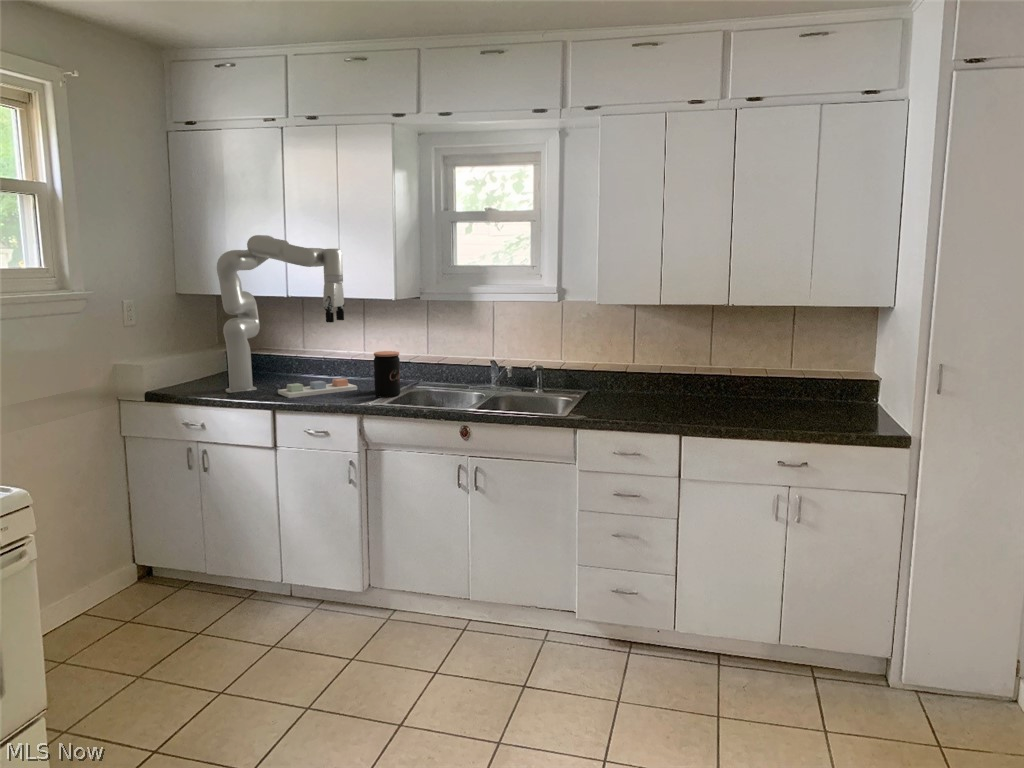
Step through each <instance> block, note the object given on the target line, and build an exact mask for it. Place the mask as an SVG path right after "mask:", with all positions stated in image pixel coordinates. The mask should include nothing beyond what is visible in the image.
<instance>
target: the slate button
mask: <svg viewBox="0 0 1024 768" xmlns="http://www.w3.org/2000/svg"><path fill="white" fill-rule="evenodd" d="M326 384H327V382H326V381H323V380H315V381H309V386H310V388H311V389H314V390H316V389H324V388H326Z"/></svg>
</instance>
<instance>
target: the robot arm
mask: <svg viewBox="0 0 1024 768" xmlns="http://www.w3.org/2000/svg"><path fill="white" fill-rule="evenodd" d="M246 248H247V249H232V250H228V251H226V252H224V253H222V254H221V255H220V256H219V258H218V260H217V261H216V273H217V277H218V281H219V286H220V287H219V290H220V296H221V301H222V307H223V310H224V312H225V313H226V314H228V315H231V316H232V315H233V316H236V315H237V317H233V318H230V319H228V320H227V321H226V322H225V323H224V325H223V336H224V340H225V346H226V347H225V348H226V356H227V371H228V372H227V374H228V385H229V386H228V388H225V393H227V394H233V393H238V392H247V391H248V392H249V391H255V390H258V389H257V386H254V385H253V368H252V352H251V345H250V343H249V340H248V339H252V338H254V337H256V336H257V335H258V334H259V332H260V327H261V326H260V317H259V312H258V304H257V300H256V299H255V296H254V295H253V294H252V293H251V292H249V291H245V290H243V288H242V282H241V279H240V277H239V275H238V271H251V270H252V271H253V270H255V269H256V268H258V267H259V266H261V265H262V264H263V263H265V262H266V261H268V260H269V259H271V260H276V261H280V262H283V263H287V264H292V265H295V266H299V267H306V268H311V267H312V268H313V267H314V268H316V267H323V283H324V284H323V298H322V299H323V308H324V313H325V322H326V323H334V322H335V320H334V319H335V316H334V315H335V314H334V308H336V311H335V312H336V320H337V321H344V320H345V301H346V300H345V295H344V287H343V283H344V274H343V273H344V271H343V270H344V269H343V267H344V266H343V253H342V252H343V251H342V249H340V248H321V247H305V246H304V247H303V246H299V245H294V244H291V243H289V242H288V241H287V240H284V239H279V238H274V237H273V236H272V235H267V234H266V235H264V234H257V235H256V234H255V235H252V236H250V237H249V239H248V240H247V243H246Z"/></svg>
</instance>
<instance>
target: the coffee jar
mask: <svg viewBox="0 0 1024 768" xmlns="http://www.w3.org/2000/svg"><path fill="white" fill-rule="evenodd" d="M399 355H400V352H399V351H396V350H394V351H392V350H382V351H381V350H380V351H375V352H373V356H374V358H373V377H374V379H373V380H374V381H373V382H374V393H375V396H376V397H378V396H381V397H380V398H394V397H398V396H400V394H401V368H400V367H401V365H400V363H401V362H400V357H399Z"/></svg>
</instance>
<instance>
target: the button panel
mask: <svg viewBox="0 0 1024 768" xmlns="http://www.w3.org/2000/svg"><path fill="white" fill-rule="evenodd" d="M357 390H358V385H356V384H351V383H349V382H348V386H342V387H335V386H332V383H326V388H324V389H316V390H314V389H311V388H310V385H309V386H303V391H299V392H289V391H287V388H282V389H277V393H278V395H281V396H283V397H285V398H288V399H293V398H299V397H300V398H301V397H309V396H316V395H323V394H332V393H333V394H334V393H340V392H341V393H342V392H350V391H357Z"/></svg>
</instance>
